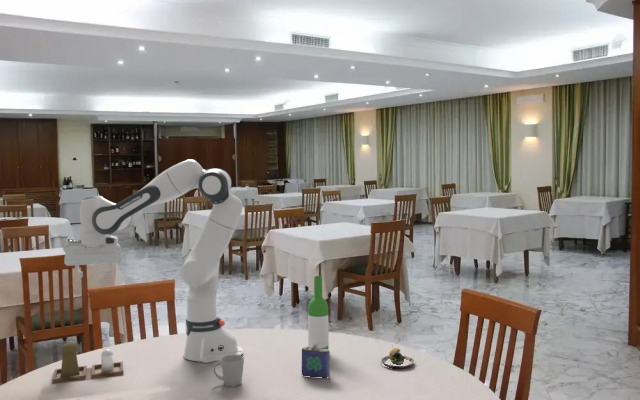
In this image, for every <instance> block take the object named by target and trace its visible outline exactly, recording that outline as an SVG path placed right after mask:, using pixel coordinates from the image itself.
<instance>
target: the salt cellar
mask: <svg viewBox="0 0 640 400" xmlns="http://www.w3.org/2000/svg"><path fill="white" fill-rule="evenodd" d="M114 358H115V357H114V352H113V350H112V349H108V348H107V349H104V350H103V351H102V352H101V353H100V360H101V361H100V364H101V369H102V373H103V372H112V371H114V362H115V360H114Z"/></svg>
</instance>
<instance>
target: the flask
mask: <svg viewBox="0 0 640 400" xmlns="http://www.w3.org/2000/svg"><path fill="white" fill-rule="evenodd" d="M313 345H314V346H313V347H310V348H309V347H308V345H307V346H304V347H302V348H301V376H302V375H303V376H310V377H322V378H325V379H326V378H327V377H329V378H330V377H331V376H330V372H331V371H330V367H331V366H330V353H331V352H330V350H328V349H317V345H318V344H317V343H316V344H313ZM303 376H302V377H303Z"/></svg>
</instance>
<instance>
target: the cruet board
mask: <svg viewBox="0 0 640 400" xmlns="http://www.w3.org/2000/svg"><path fill="white" fill-rule="evenodd" d="M87 366H88V365H80V366H79V365H78V367H79V373H80V375H78V376H69V377H61V368H55V369H54V371H53V377H52V384H51V385H57V384H64V383H73V382H81V381H90V380H96V379H103V378H104V379H105V378H115V377H123V376H124V375H125V374H124V361H116V362H115V361H114V371H112V372H103V373H102V369H101V363H98V364H97V363H96V364H92V365H91V367H87Z"/></svg>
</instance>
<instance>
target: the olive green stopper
mask: <svg viewBox="0 0 640 400" xmlns="http://www.w3.org/2000/svg"><path fill="white" fill-rule="evenodd" d="M60 352H61V354H62V359H61V368H60V369H61V377H69V376H78V375H80V373H79V367H78V366H79V363H78V357H77V352H78V345H77V343H76V342H66V343H64V344H63V345H61V346H60Z"/></svg>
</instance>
